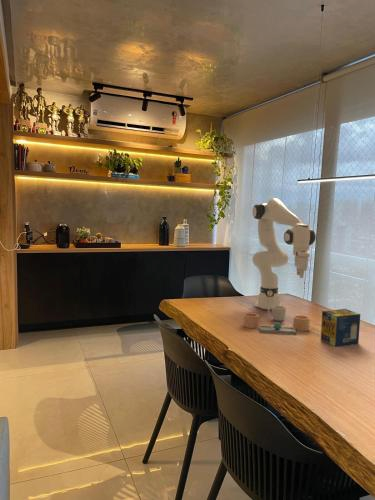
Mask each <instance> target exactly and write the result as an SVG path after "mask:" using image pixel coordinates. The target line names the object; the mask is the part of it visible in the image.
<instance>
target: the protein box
mask: <svg viewBox="0 0 375 500" xmlns="http://www.w3.org/2000/svg"><path fill="white" fill-rule="evenodd" d="M321 312H322V313H321V325H320V326H321V330H320V341H322V342H323V343H326V344H328V345H330V346H332V347H333V348H334V347H335V348H336V347H343V346H350V345H351V344H353V345H358V344H359V339H360V338H359V337H360V327H361V324H360V323H361V313H358V312H356V311H352V310H350V309H347V308H339V309H330V310H329V309H328V310H322V311H321ZM357 343H358V344H357Z"/></svg>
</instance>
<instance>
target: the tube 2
mask: <svg viewBox="0 0 375 500" xmlns="http://www.w3.org/2000/svg"><path fill="white" fill-rule="evenodd" d="M292 321H293V322H292V323H293V324H292V327H294V328H295V330H296V331H300V332H308V331H310V323H311V322H310V321H311V317H309V316H307V315H302V314H297V315H293V320H292Z"/></svg>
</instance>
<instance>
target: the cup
mask: <svg viewBox="0 0 375 500" xmlns="http://www.w3.org/2000/svg"><path fill="white" fill-rule="evenodd" d="M286 310H287V308H286V307H285V306H283V305H281V306H273V307H272V308H269V309H267V314H268V315H269V316H271V317H272V319H273V321H276V322H282V321H284V320H285V317H286ZM270 311H271V313H270Z"/></svg>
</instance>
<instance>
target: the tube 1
mask: <svg viewBox="0 0 375 500" xmlns="http://www.w3.org/2000/svg"><path fill="white" fill-rule="evenodd" d="M259 323H260V314H258V313H255V312H245V313H243V324H242V325H243V326H242V327H244V328H247V329H257V328H258V329H259V326H260V325H259Z"/></svg>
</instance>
